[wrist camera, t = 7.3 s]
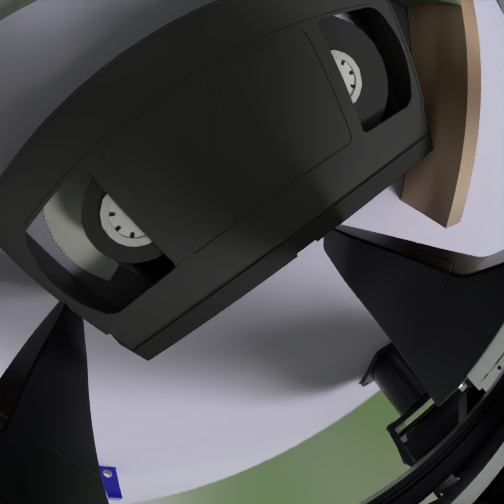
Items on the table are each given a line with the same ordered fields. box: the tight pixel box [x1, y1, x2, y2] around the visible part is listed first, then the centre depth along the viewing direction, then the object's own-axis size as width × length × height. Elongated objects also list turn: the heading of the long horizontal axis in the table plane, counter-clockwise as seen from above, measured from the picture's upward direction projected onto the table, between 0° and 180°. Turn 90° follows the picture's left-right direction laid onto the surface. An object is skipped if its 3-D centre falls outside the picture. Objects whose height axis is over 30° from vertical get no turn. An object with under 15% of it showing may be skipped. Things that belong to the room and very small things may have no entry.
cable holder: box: [99, 466, 122, 500], centre depth 16 cm, size 8×4×4 cm, turn 59°
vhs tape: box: [0, 0, 433, 361], centre depth 7 cm, size 14×8×2 cm, turn 120°
